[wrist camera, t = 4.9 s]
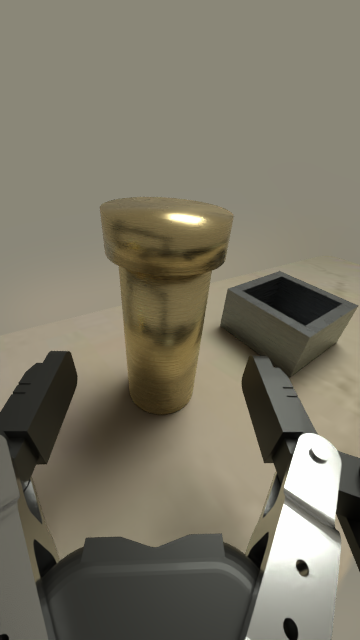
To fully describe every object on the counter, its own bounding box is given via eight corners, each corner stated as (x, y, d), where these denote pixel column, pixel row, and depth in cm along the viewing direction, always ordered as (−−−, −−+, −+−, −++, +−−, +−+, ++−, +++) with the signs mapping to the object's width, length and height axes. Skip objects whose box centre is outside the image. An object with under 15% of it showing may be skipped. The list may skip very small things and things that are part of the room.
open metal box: (289, 377, 21) (310, 337, 18) (220, 325, 26) (227, 289, 23) (336, 342, 25) (358, 305, 22) (268, 303, 30) (279, 271, 28)
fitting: (147, 439, 15) (143, 235, 8) (108, 377, 19) (80, 199, 12) (216, 395, 19) (261, 218, 11) (171, 349, 22) (181, 195, 15)
